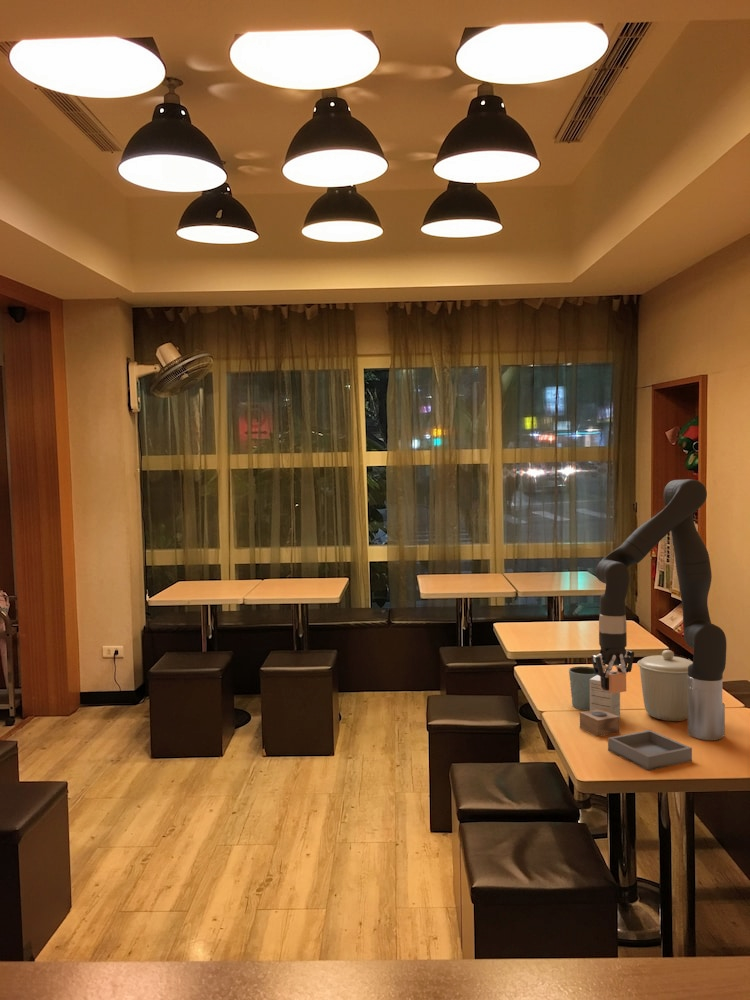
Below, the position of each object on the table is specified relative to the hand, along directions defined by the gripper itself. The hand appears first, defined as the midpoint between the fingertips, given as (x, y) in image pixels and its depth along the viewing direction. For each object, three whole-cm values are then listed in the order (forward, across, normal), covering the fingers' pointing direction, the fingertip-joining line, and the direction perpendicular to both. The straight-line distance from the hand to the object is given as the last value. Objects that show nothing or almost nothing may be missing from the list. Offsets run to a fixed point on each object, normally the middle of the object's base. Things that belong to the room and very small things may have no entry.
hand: (613, 688), depth 203 cm
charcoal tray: (+15, -1, +13) cm, 20 cm away
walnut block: (+15, -2, -8) cm, 17 cm away
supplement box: (+15, -11, -16) cm, 25 cm away
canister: (+15, -30, -9) cm, 35 cm away
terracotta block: (0, 0, 0) cm, 0 cm away
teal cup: (+15, -13, -28) cm, 34 cm away
